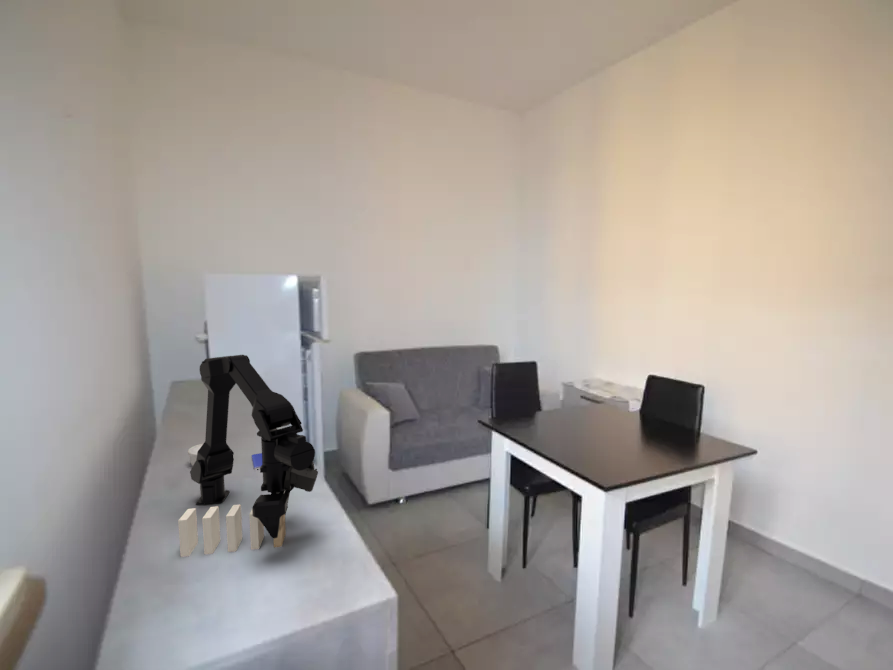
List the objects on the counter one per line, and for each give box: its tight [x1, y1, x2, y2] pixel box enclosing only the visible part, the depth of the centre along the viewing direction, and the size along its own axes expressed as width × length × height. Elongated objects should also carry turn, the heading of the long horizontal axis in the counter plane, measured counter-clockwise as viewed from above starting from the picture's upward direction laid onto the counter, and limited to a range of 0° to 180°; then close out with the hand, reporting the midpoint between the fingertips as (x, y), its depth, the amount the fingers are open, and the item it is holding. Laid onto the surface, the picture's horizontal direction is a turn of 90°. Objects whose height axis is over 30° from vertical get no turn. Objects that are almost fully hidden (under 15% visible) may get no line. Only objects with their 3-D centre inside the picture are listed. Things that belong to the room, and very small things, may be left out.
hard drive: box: [251, 452, 262, 471], centre depth 142 cm, size 2×8×12 cm
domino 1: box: [177, 507, 199, 558], centre depth 93 cm, size 5×2×8 cm, turn 10°
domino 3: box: [225, 504, 243, 553], centre depth 94 cm, size 5×2×8 cm, turn 10°
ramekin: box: [187, 443, 204, 467], centre depth 140 cm, size 11×11×5 cm
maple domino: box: [272, 514, 287, 548], centre depth 96 cm, size 5×2×8 cm, turn 10°
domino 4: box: [248, 509, 265, 551], centre depth 95 cm, size 5×2×8 cm, turn 10°
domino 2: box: [202, 505, 222, 556], centre depth 94 cm, size 5×2×8 cm, turn 10°
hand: (279, 526), depth 96 cm, fingers open, 9 cm apart
